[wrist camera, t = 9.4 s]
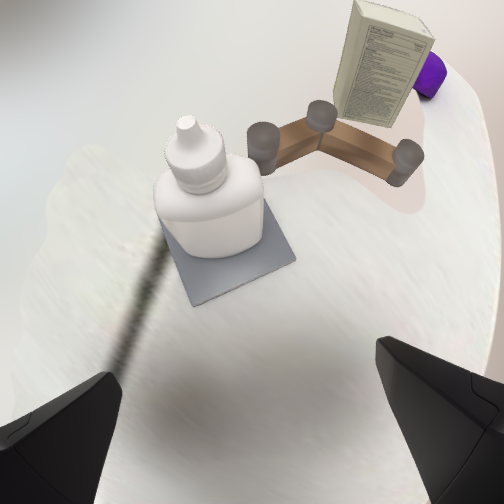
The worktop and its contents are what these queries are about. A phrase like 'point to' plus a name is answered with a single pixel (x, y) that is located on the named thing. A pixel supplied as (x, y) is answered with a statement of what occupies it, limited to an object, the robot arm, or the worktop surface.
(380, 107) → the skincare box
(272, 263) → the coaster
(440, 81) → the purple faceted pebble
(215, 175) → the eye dropper bottle
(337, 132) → the rail
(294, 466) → the worktop surface
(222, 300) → the worktop surface
